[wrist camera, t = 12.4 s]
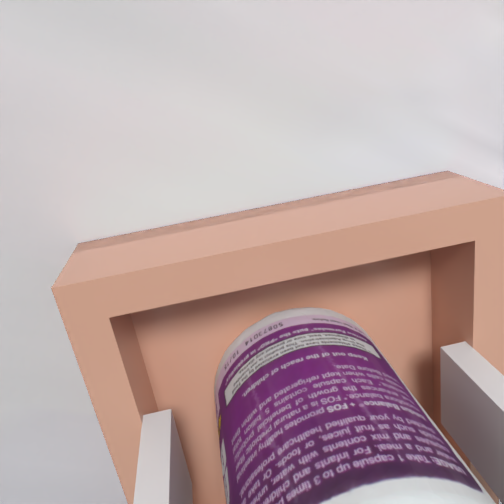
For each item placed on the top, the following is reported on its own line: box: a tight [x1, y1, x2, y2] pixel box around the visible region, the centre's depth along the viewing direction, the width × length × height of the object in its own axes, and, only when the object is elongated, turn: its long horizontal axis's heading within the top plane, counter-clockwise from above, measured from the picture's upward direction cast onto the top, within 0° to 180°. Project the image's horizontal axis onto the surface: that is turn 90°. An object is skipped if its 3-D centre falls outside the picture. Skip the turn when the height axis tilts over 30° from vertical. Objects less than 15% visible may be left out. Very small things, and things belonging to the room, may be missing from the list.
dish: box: [51, 171, 504, 504], centre depth 14 cm, size 11×11×3 cm
